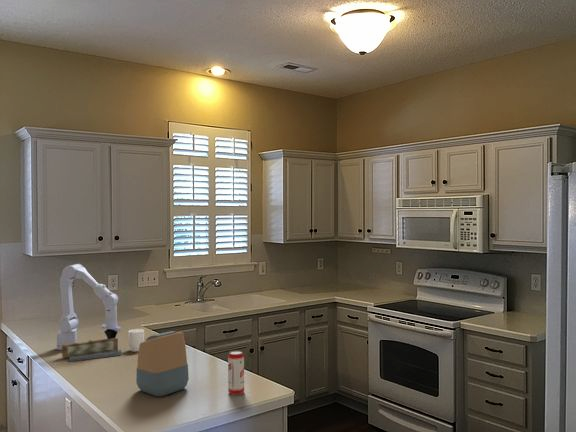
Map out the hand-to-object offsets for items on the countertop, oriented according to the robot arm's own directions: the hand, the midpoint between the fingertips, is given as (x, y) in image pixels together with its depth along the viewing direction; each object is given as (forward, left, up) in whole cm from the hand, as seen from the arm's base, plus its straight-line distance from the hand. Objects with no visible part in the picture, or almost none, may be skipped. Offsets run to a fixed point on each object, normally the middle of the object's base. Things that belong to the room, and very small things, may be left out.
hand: (111, 343), depth 271 cm
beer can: (+86, -44, -3) cm, 97 cm away
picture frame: (-5, -11, -3) cm, 12 cm away
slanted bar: (+1, -15, -3) cm, 15 cm away
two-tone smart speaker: (+56, -48, -3) cm, 74 cm away
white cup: (+13, +2, -3) cm, 14 cm away
